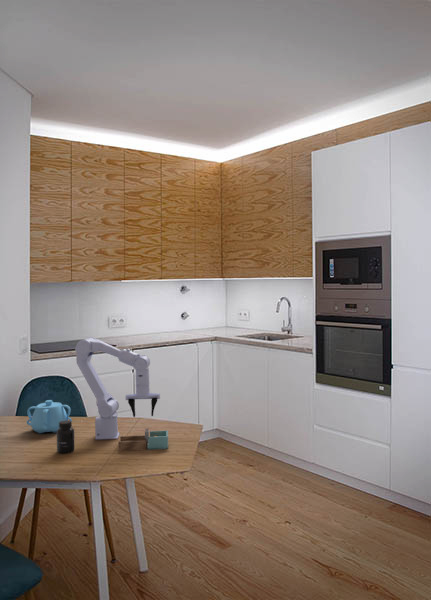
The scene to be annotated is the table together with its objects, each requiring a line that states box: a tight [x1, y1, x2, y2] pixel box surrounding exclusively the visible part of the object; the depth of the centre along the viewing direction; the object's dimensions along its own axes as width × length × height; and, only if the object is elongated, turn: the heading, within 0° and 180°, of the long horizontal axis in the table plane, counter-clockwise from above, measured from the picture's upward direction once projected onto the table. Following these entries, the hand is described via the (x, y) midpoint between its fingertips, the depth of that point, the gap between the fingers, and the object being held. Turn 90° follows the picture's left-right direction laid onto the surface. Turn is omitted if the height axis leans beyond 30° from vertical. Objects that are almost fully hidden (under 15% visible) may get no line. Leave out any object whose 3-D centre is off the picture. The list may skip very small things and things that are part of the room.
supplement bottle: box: [56, 419, 75, 455], centre depth 206 cm, size 7×7×12 cm
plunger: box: [144, 428, 150, 443], centre depth 211 cm, size 1×5×4 cm, turn 4°
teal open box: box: [147, 430, 169, 451], centre depth 211 cm, size 8×8×5 cm
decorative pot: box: [26, 399, 73, 434], centre depth 236 cm, size 16×16×14 cm
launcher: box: [117, 434, 148, 452], centre depth 211 cm, size 11×8×4 cm
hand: (143, 415), depth 222 cm, fingers open, 7 cm apart
